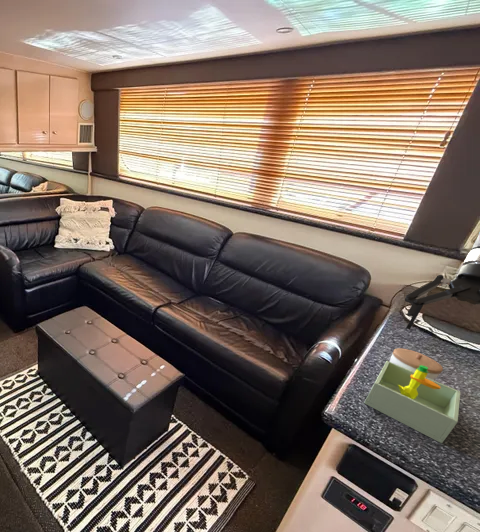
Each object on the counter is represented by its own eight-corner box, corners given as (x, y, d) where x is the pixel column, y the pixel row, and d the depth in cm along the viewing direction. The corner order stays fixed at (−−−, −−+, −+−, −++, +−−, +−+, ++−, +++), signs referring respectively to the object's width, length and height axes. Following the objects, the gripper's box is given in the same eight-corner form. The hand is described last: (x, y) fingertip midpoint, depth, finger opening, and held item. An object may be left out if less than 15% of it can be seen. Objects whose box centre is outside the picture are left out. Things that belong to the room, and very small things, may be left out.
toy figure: (424, 409, 84) (448, 373, 80) (423, 415, 82) (447, 379, 78) (391, 393, 89) (412, 359, 85) (389, 399, 87) (410, 363, 83)
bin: (446, 411, 86) (460, 391, 84) (441, 443, 75) (457, 421, 73) (376, 379, 97) (386, 360, 94) (363, 403, 86) (375, 382, 83)
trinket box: (425, 397, 91) (442, 370, 88) (378, 374, 99) (392, 349, 96) (433, 384, 97) (449, 359, 93) (388, 364, 105) (401, 340, 101)
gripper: (558, 296, 74) (520, 373, 72) (413, 261, 92) (379, 322, 90) (576, 282, 69) (535, 365, 67) (419, 248, 87) (382, 312, 84)
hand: (445, 340), depth 78 cm, fingers open, 13 cm apart
